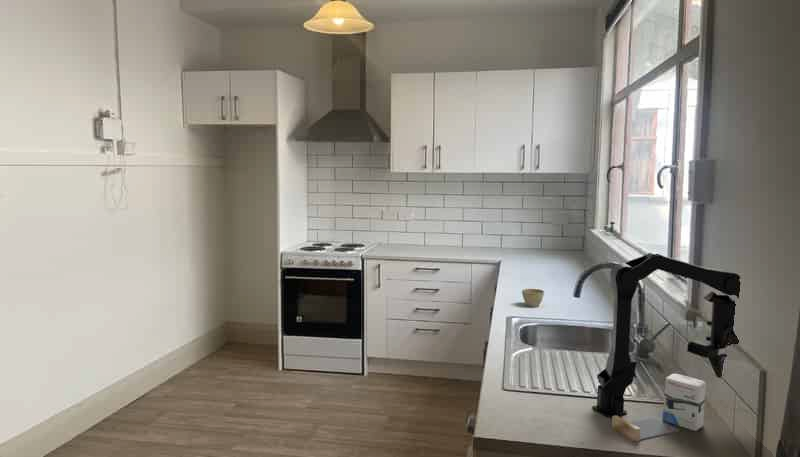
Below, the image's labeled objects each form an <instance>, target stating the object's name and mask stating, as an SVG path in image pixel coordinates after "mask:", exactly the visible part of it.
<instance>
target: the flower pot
mask: <svg viewBox="0 0 800 457" xmlns="http://www.w3.org/2000/svg"><path fill="white" fill-rule="evenodd" d="M521 294H522V298H523V300H524V303H525V305H526V306H527V307H529V308H537V307H539V306H540V304H541V303H542V301H543V297H544V296H545V295H544V294H545V291H544V290H542V289H539V288H524V289H522V290H521Z"/></svg>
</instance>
